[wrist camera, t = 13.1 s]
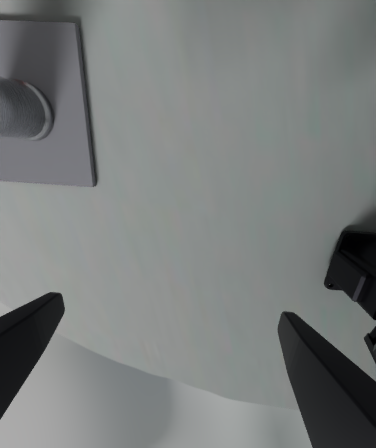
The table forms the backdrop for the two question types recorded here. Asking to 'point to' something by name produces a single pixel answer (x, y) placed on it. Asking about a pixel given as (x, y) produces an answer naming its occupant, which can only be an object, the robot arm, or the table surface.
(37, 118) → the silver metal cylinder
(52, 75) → the bracket
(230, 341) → the table surface
